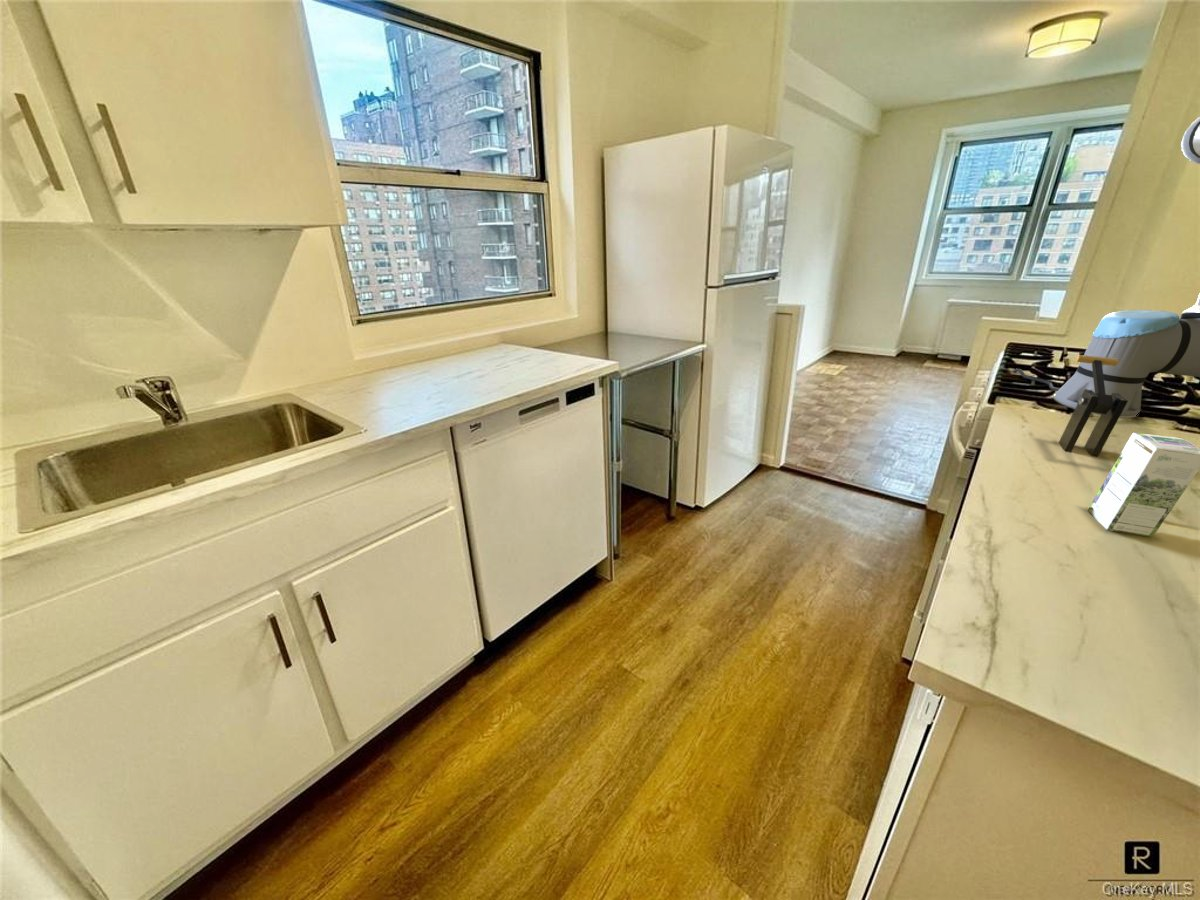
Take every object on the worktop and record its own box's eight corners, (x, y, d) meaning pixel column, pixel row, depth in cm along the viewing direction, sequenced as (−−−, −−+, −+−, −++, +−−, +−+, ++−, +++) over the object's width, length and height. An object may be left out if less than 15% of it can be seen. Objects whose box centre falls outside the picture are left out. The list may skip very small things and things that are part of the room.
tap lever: (1073, 360, 99) (1080, 351, 97) (1112, 364, 97) (1119, 355, 95) (1077, 410, 92) (1084, 401, 91) (1119, 416, 90) (1127, 407, 88)
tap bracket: (1040, 440, 102) (1067, 383, 96) (1095, 450, 98) (1127, 390, 92) (1052, 460, 94) (1083, 399, 88) (1113, 471, 90) (1149, 408, 84)
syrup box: (1130, 517, 77) (1181, 435, 70) (1154, 539, 72) (1211, 453, 65) (1086, 510, 79) (1131, 430, 72) (1106, 531, 74) (1157, 447, 67)
